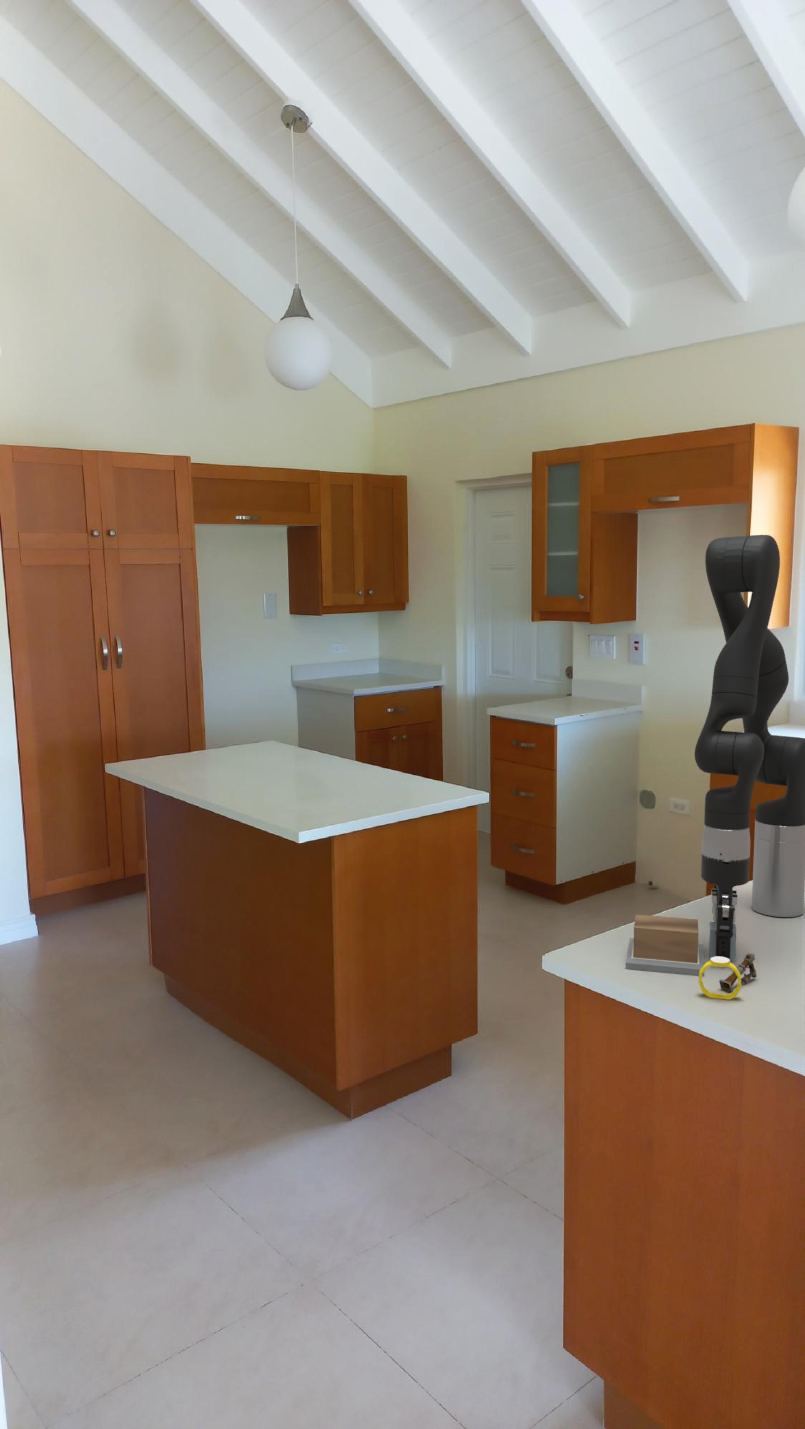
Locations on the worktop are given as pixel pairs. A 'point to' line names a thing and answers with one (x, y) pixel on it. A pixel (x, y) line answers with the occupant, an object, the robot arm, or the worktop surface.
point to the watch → (720, 962)
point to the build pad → (664, 963)
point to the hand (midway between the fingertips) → (722, 953)
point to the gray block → (713, 941)
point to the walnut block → (666, 938)
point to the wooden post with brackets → (741, 968)
